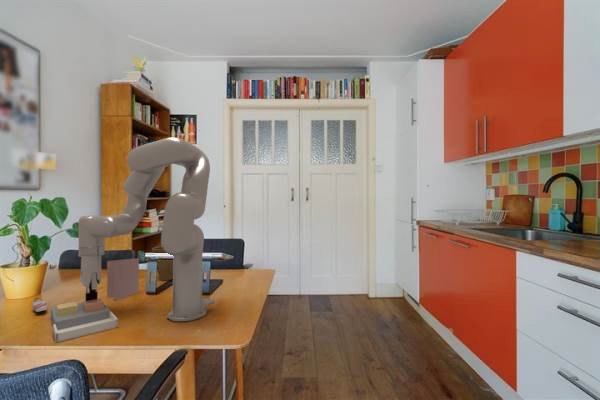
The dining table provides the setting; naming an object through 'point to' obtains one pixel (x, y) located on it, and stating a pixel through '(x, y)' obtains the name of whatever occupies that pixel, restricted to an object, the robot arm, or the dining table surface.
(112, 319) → the tray
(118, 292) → the greeting card
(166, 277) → the plant pot
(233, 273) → the dining table surface
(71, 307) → the tile mustard
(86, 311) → the salmon pink block
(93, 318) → the slate board
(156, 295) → the dining table surface
